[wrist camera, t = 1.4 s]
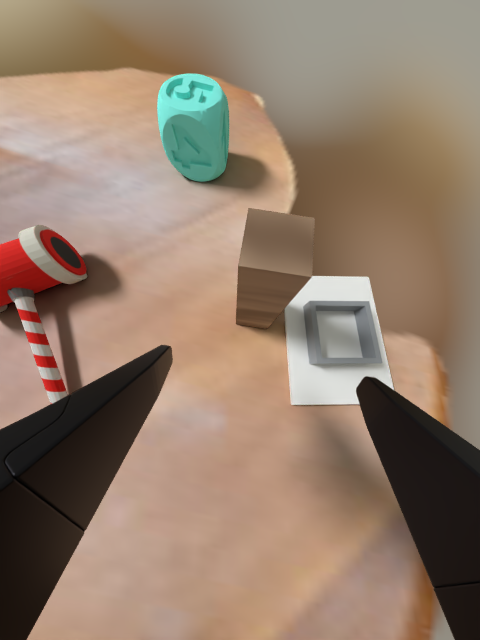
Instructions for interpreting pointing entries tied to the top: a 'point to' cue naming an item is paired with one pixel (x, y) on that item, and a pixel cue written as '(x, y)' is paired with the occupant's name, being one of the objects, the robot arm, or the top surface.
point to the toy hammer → (38, 289)
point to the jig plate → (333, 341)
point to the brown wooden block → (272, 265)
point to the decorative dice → (194, 125)
